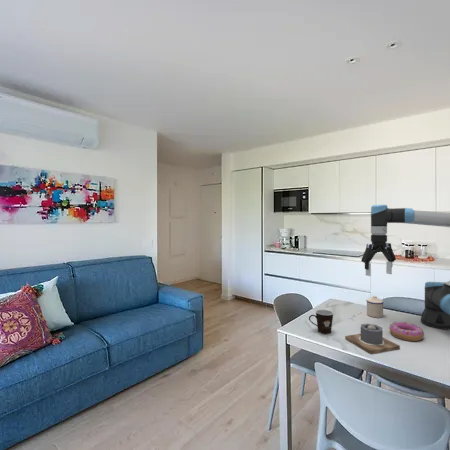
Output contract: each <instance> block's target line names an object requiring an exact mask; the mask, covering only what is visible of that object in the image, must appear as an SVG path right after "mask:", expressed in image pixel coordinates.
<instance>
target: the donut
mask: <svg viewBox="0 0 450 450" xmlns="http://www.w3.org/2000/svg"><path fill="white" fill-rule="evenodd" d="M389 324H390V325H389V333H391V335H392V336H393V337H395V338H397V339H400V340H403V341H408V342H420V341H421V340H423V338H424V329H422V327H421V326H418V325H416V324H414V323H411V322H406V321H405V322H404V321H395V322H391V323H389Z"/></svg>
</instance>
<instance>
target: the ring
mask: <svg viewBox="0 0 450 450" xmlns="http://www.w3.org/2000/svg"><path fill="white" fill-rule="evenodd" d="M369 325H373V326H374V327H375V328H376V330H369V329H367V327H368V326H369ZM383 332H384V330H383V327H382V326H379V325H378V324H372V323H364V324H360V334H361V340H362V341H364V342H365V343H368V344H374V345H378V344H383V338H384V334H383Z"/></svg>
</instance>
